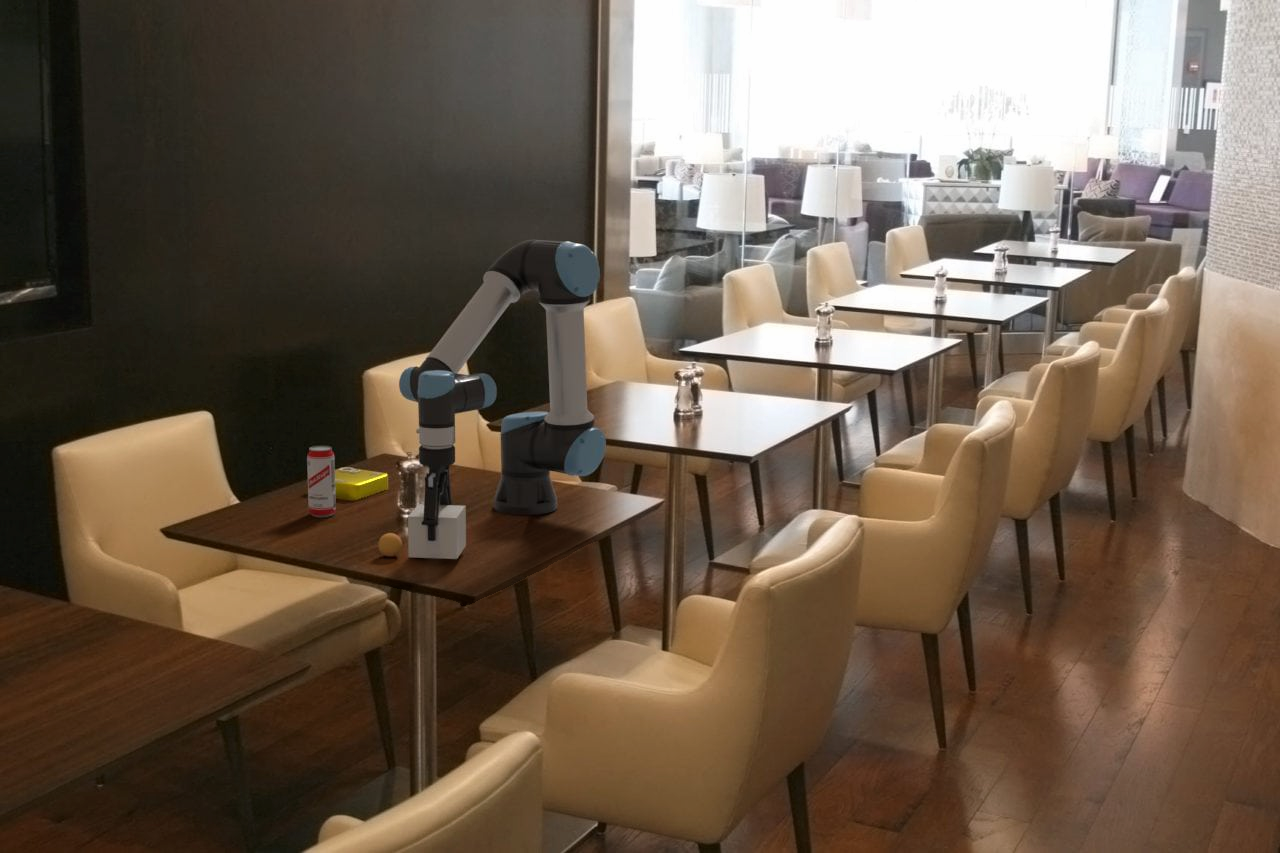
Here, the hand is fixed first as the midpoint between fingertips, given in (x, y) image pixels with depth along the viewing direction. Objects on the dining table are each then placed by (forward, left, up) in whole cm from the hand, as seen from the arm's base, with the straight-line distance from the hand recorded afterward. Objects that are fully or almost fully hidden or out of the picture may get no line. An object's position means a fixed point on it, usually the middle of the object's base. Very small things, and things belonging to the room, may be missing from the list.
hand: (438, 547), depth 317 cm
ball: (+10, 0, 0) cm, 10 cm away
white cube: (0, 0, -1) cm, 1 cm away
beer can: (+34, -31, -3) cm, 46 cm away
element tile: (+34, -54, -3) cm, 64 cm away
